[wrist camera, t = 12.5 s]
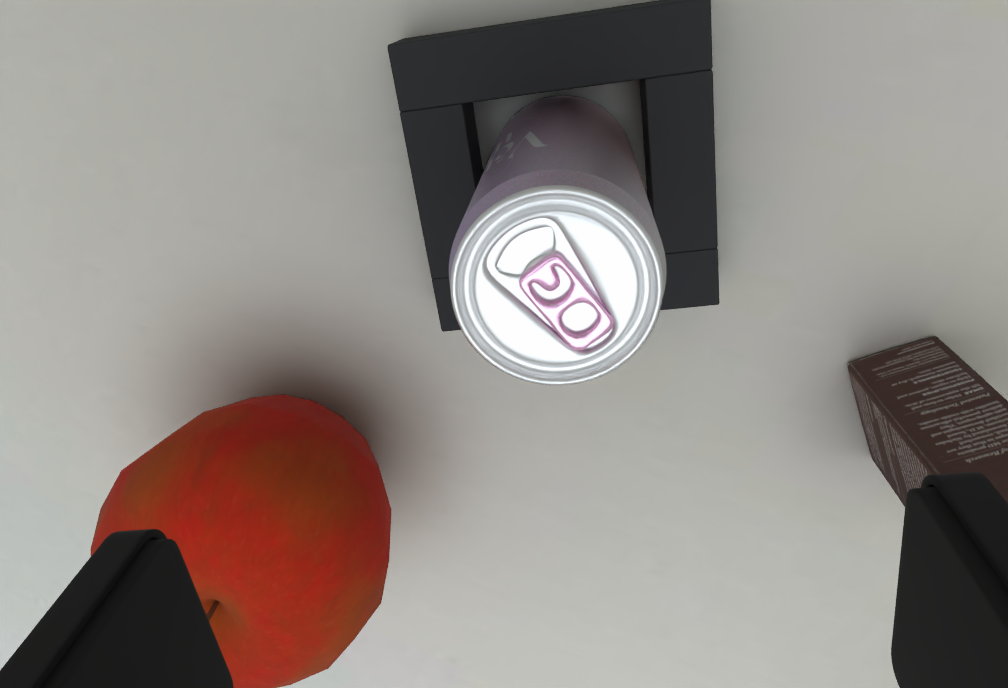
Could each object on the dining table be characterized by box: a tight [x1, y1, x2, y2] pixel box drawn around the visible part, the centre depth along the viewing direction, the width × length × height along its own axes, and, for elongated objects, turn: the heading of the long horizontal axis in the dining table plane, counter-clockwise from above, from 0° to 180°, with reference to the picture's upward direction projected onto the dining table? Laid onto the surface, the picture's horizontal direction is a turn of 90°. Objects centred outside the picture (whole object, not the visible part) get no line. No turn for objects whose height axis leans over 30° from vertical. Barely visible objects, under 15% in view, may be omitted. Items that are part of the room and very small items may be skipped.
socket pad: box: [388, 0, 719, 331], centre depth 33 cm, size 12×12×3 cm
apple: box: [91, 394, 391, 688], centre depth 35 cm, size 12×12×14 cm
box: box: [848, 336, 1008, 506], centre depth 32 cm, size 6×4×12 cm
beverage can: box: [449, 96, 666, 385], centre depth 27 cm, size 6×6×15 cm
